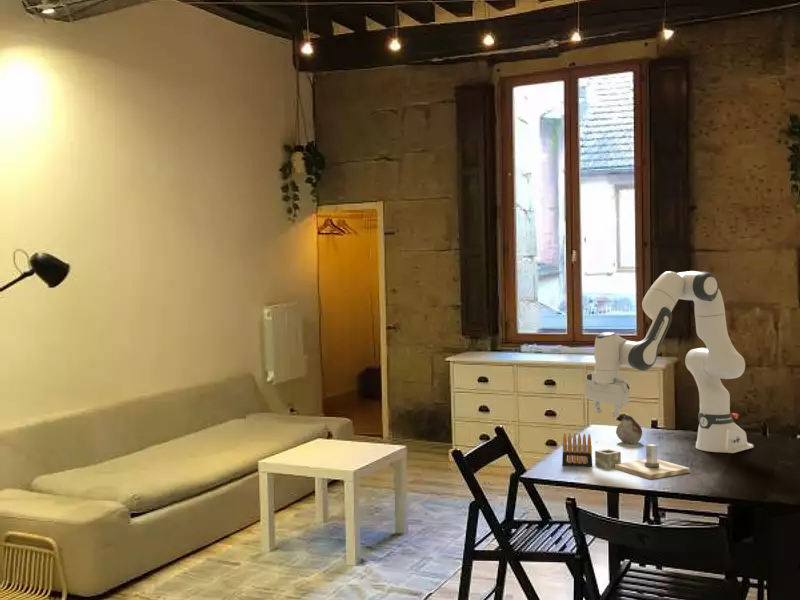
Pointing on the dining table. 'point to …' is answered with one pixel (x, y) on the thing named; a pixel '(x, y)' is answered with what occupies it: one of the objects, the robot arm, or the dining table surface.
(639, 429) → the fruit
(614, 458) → the collar
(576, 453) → the ammunition clip
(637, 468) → the shaft board
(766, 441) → the dining table surface
